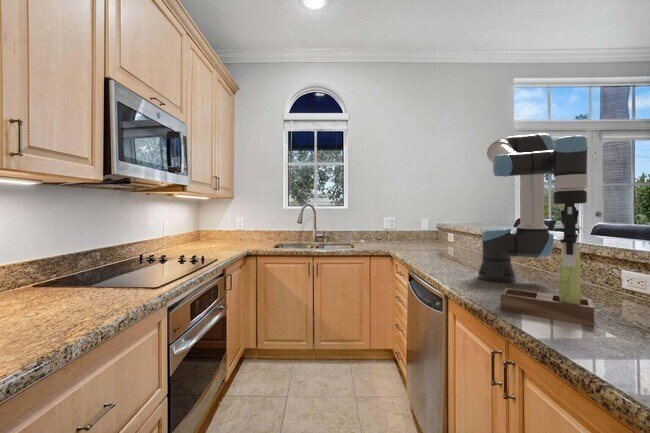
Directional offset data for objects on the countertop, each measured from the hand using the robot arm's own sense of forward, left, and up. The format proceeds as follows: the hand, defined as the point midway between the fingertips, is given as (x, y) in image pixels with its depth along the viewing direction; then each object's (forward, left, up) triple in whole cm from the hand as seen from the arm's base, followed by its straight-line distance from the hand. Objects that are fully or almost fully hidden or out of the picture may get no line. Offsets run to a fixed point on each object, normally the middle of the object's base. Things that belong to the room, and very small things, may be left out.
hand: (569, 262), depth 87 cm
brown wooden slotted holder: (0, -6, -16) cm, 17 cm away
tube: (0, 0, -15) cm, 15 cm away
